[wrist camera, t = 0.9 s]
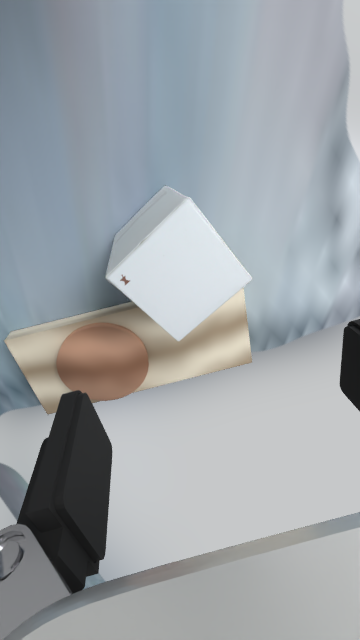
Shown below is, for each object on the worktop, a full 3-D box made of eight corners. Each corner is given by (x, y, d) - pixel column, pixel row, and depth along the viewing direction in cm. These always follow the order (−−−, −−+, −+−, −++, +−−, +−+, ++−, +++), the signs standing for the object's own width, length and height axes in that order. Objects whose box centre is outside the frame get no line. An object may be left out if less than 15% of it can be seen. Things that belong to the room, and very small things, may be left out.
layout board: (10, 331, 33) (0, 346, 31) (237, 275, 34) (245, 284, 31) (51, 403, 39) (45, 420, 36) (246, 353, 39) (254, 367, 37)
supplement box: (162, 285, 33) (176, 346, 22) (112, 235, 30) (99, 277, 19) (214, 239, 32) (256, 281, 21) (167, 181, 29) (187, 193, 18)
